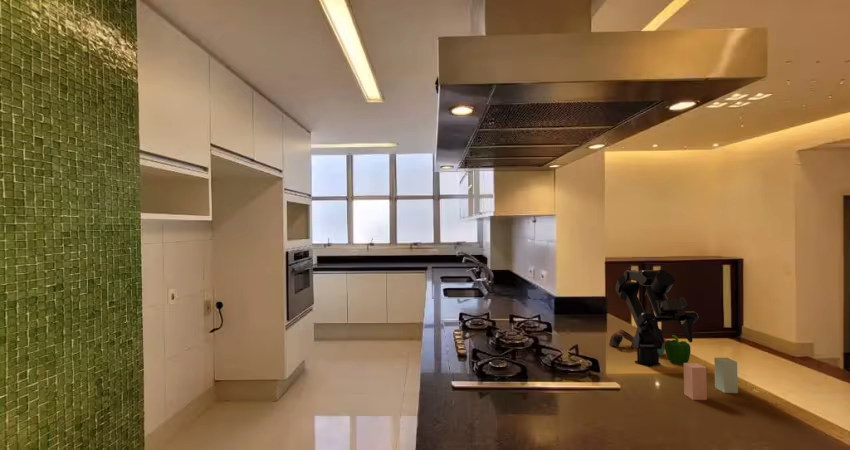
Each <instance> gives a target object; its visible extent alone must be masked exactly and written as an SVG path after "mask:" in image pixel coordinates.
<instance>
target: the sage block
mask: <svg viewBox="0 0 850 450" xmlns="http://www.w3.org/2000/svg"><path fill="white" fill-rule="evenodd" d="M713 360H714V361H713V362H714V388H715V389H716V390H719V391H720V392H722V393H724V394H739V385H738V383H739V382H738V380H739V379H738V378H739V377H738V361H736V360H734V359H731V358H729V357H714V358H713Z"/></svg>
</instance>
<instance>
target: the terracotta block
mask: <svg viewBox="0 0 850 450" xmlns="http://www.w3.org/2000/svg"><path fill="white" fill-rule="evenodd" d="M707 389H708V387H707V367H705V366H704V365H702V364H700V363H698V362H687V363H684V364H683V393H684V395H685V396H686V397H688V399H689V398H690V399H691V400H692V401H708V392H707V391H708V390H707Z"/></svg>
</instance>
